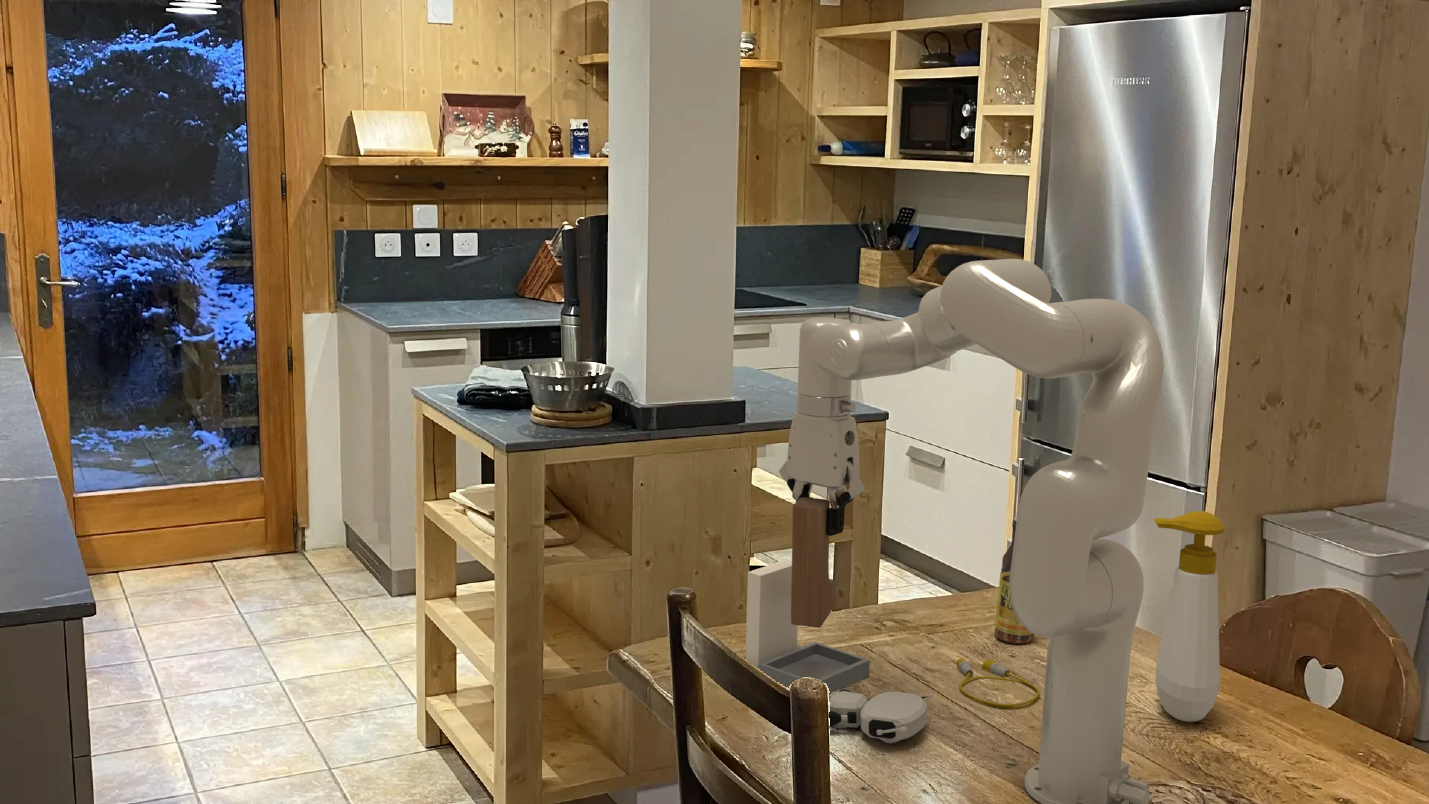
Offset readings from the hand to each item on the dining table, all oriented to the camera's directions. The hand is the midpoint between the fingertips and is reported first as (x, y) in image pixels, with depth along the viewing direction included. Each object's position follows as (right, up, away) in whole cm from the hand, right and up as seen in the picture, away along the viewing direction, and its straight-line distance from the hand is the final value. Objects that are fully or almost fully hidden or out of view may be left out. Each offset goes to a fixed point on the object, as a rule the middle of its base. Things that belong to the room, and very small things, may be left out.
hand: (819, 528), depth 193 cm
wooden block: (-1, -13, +3) cm, 14 cm away
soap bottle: (+50, -25, -5) cm, 56 cm away
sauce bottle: (+33, -20, +22) cm, 44 cm away
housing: (-2, -22, +6) cm, 23 cm away
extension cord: (+26, -24, +3) cm, 36 cm away
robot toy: (+6, -26, -13) cm, 30 cm away
